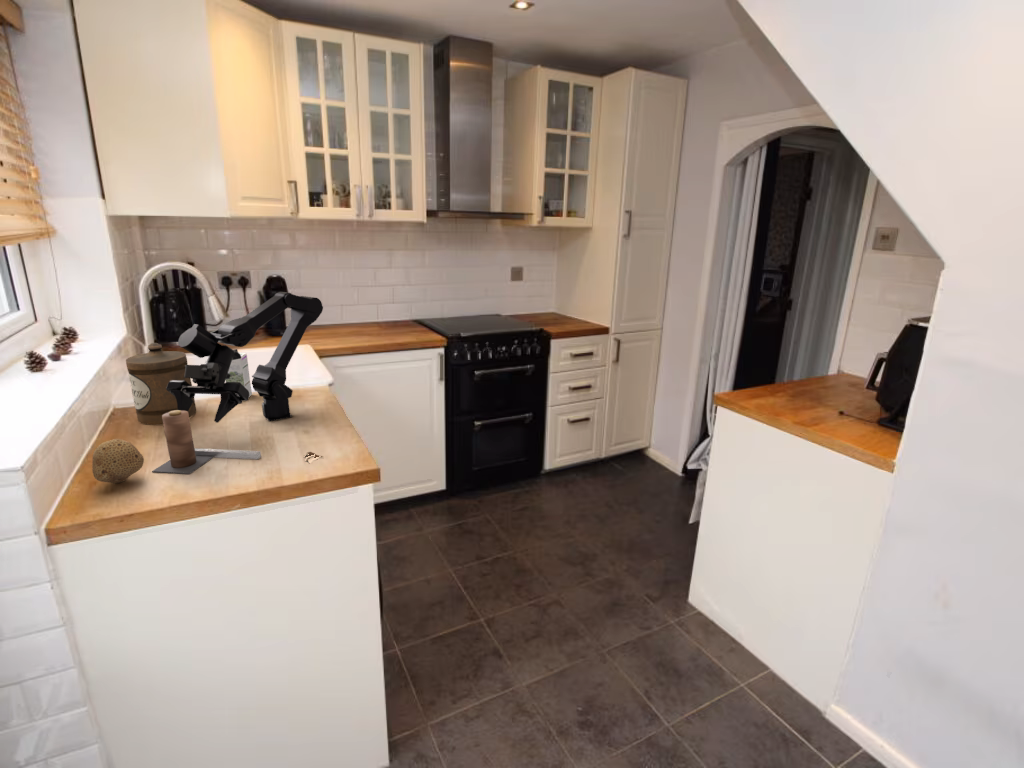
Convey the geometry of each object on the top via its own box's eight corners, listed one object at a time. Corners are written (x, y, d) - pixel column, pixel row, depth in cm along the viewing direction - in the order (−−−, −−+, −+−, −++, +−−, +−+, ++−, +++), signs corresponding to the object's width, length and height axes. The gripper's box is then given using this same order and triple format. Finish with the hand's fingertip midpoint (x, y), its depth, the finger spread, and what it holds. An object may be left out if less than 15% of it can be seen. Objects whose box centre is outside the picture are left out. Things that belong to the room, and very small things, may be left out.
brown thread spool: (194, 457, 131) (185, 406, 128) (198, 464, 127) (189, 412, 124) (169, 462, 128) (160, 410, 125) (172, 469, 124) (163, 417, 121)
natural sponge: (154, 471, 124) (146, 431, 121) (134, 490, 116) (125, 447, 113) (111, 473, 123) (102, 433, 120) (88, 492, 114) (77, 449, 112)
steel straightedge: (261, 456, 133) (260, 451, 132) (257, 459, 131) (257, 453, 131) (191, 453, 134) (190, 447, 134) (187, 456, 133) (186, 450, 132)
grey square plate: (213, 457, 132) (213, 456, 132) (189, 474, 123) (189, 473, 123) (178, 456, 132) (178, 454, 132) (152, 472, 124) (152, 471, 124)
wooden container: (136, 414, 160) (121, 341, 154) (192, 404, 169) (181, 336, 162) (139, 429, 149) (123, 352, 142) (200, 418, 157) (188, 345, 151)
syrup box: (252, 394, 179) (247, 352, 174) (246, 400, 173) (240, 356, 169) (234, 395, 178) (228, 352, 174) (227, 401, 172) (221, 357, 168)
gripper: (163, 349, 133) (140, 406, 126) (236, 351, 132) (217, 408, 125) (189, 371, 143) (168, 425, 136) (257, 373, 142) (240, 427, 135)
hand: (198, 421), depth 133 cm, fingers open, 9 cm apart
